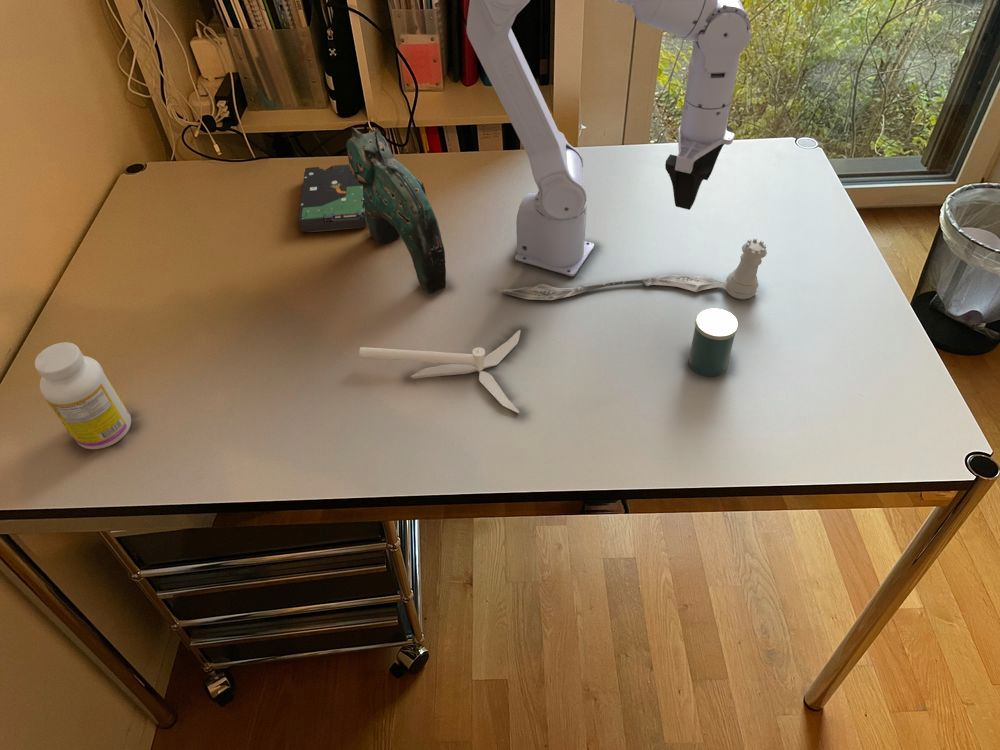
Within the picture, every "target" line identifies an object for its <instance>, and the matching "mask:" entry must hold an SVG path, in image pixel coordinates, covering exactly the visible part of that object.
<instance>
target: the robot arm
mask: <svg viewBox="0 0 1000 750" xmlns="http://www.w3.org/2000/svg"><path fill="white" fill-rule="evenodd" d="M530 1H531V0H469V5H468V12H467V20H466V31H465V32H466V34H467V39H468V40H469V42H470V44H471V46H472V48H473V51H474V52H475V54H476V56H477V58H478V60H479V62H480V64H481V66H482V68H483V70H484V72H485V74H486V76H487V78H488V81H489V82H490V84H491V86H492V88H493V90H494V91H495V94H496V96H497V98H498V100H499V101H500V104H501V105H502V108H503V110H504V111H505V113H506V116H507V118H508V120H509V122H510V124H511V126H512V128H513V129H514V131H515V133H516V136H517V137H518V139H519V141H520V143H521V146H522V147H523V149H524V151H525V153H526V155H527V157H528V161H529V164H530V169H531V173H532V177H533V179H534V183H535V184H536V186H537V189H538V192H536V193H535V192H528V193H526V194H525V196H524V197H523V198H522V200H521V202H520V204H519V207H518V210H517V214H516V221H515V223H516V226H515V227H516V254H515V256H514V260H515V261H518V262H521V263H523V264H528V265H531V266H534V267H538V268H541V269H544V270H547V271H552V272H555V273H557V274H562V275H565V276H568V277H575V276H576V274H577V273H578V271H580V269H581V267H582V266H583V264H584V263H585V262H586V260H587V259H588V257H589V256H590V255H591V252H593V250H594V249H595V243H594V242H591V241H587V240H586V230H587V229H586V227H587V226H586V225H587V207H588V200H587V197H588V196H587V191H586V189H585V182H584V171H583V170H584V169H583V167H584V161H583V160H584V159H583V157H582V154H581V153H580V151H578V149H577V148H575V147H574V146H572V145H571V144H570V143H569V141H568V140H567V138H566V136H565V134H564V133H563V132H561V131H560V130H559V129H558V126H557V125H556V123H555V120H554V118H553V116H552V113H551V112H550V109H549V107H548V105H547V102H546V101H545V99H544V96H543V94H542V92H541V90H540V88H539V85H538V84H537V81H536V79H535V77H534V75H533V73H532V71H531V68H530V66H529V63H528V61H527V59H526V58H525V55H524V53H523V50H522V48H521V47H520V43H519V42H518V40H517V37H516V36H515V33H514V32H513V29H512V26H513V24H514V22H515V20H516V17H517V15H518V14H519V13H520V12H521V11H522V10H523V9H524V8H525V7H526V6H527V5H528V4H529V3H530ZM613 1H614V2H617V3H621V4H623V5H627V6H630V7H631V8H632V10H633V14H634V16H635V19H636V21H637V22H639V23H641V24H644V25H647V26H648V27H651V28H654V29H657V30H659V31H662V32H664V33H667V34H670V35H673V36H675V37H678V38H681V39H683V40H686V41H693V44H692V51H691V56H690V59H689V64H688V72H687V79H686V85H685V91H684V98H683V103H682V112H681V119H680V120H681V121H680V124H679V126H678V129H677V147H678V154H677V155H676V154H675V155H674V154H672V153H671V154H669V155H668V156H667V158H666V160H665V164H664V165H665V170H666V172H667V174H668V177H669V179H670V181H671V185H672V191H673V200H674V206H675V207H676V208H681V209H684V210H687V211H689V210H692V209H691V208H692V207H693V205H694V202H695V201H696V198H697V196H698V193H699V189H700V187H701V185H702V183H703V181H708V180H709V178H710V176H711V175H712V173H713V171H714V167H715V165H716V163H717V160H718V157H719V155H720V154H721V151H722V149H723V148H724V145H727V146H728V145H729V146H730V145H732V143H733V142H734V140H735V136H736V134H735V133H734V129H733V127H731V126H729V125H728V121H729V118H730V117H729V115H730V110H731V107H732V101H733V95H734V91H735V85H736V79H737V75H738V69H739V61H740V55H741V53H742V52H743V51H744V50H745V49H746V48H747V46H748V44H749V43H750V41H751V39H752V36H753V33H752V32H751V21H750V18H749V16H748V14H747V11H746V10H745V8H744V6H743V3H742V2H741V0H613Z"/></svg>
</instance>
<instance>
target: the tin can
mask: <svg viewBox="0 0 1000 750" xmlns="http://www.w3.org/2000/svg"><path fill="white" fill-rule="evenodd" d="M738 328H739V321H738V319H737V317H736V316H735V315H734V314H732V313H731V312H730V311H728V310H725V309H722V308H715V307H714V308H713V307H712V308H706V309H703V310H702V311H700V312H698V314H697V315H696V317H695V322H694V330H693V336H692V339H691V346H690V351H689V355H688V365H689V367H690V368H691V369H692V370H693V371H694V372H695V373H697V374H699V375H700V376H705V377H717V376H719V375H721V374H723V373H724V372H725V371H726V370H727V368H728V364H729V361H730V357H731V353H732V350H733V346H734V345H733V344H734V341H735V337H736V333H738V332H737V331H738Z"/></svg>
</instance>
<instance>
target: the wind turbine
mask: <svg viewBox="0 0 1000 750" xmlns="http://www.w3.org/2000/svg"><path fill="white" fill-rule="evenodd" d="M521 331H522V330H517V331H516V332H515V333H514V334H513V335H512V336H511V337H510V338H509V339H508V340H506V341H505V342H504V343H503V344H501V345H499V346H498V347H497V348H496V349H494V350H493V351H491V352H490V353H489V354H487V355H486V350H485V349H484V348H483V347H478V346H477V347H475V348H473V349H472V351H471V352H472V353H461V352H460V353H459V352H445V351H444V352H443V351H429V350H413V349H396V348H381V347H365V346H360V347H359V351H358V354H359V355H358V356H359V358H360V359H371V360H372V359H373V360H386V361H401V362H403V361H405V362H415V363H416V362H417V363H418V362H419V363H431V364H432V363H434V364H435V363H436V364H440V365H436V366H429V367H424V368H423V369H421V370H419V371H417V372H416V373H414V374H412V375H410V376H409V377H410V378H411V379H414V380H415V379H422V378H431V377H441V376H453V375H454V376H455V375H466V374H471V373H474V372H478V375H479V376H478V381H479V383H481V384H482V385H483V387H484V388H485V389H486V390H487V391H488V392H489V393H490V394H491V395H492V396H493V397H494V398H495V399H496V400H497V401H498V403H499V404H501V405H502V407H505V408H507V409H509V410H510V411H513V412H515V413H517V414H520V409H518V408H517V407H516V406H515V405H514V403H512V401H511V400H510V399H509V398H508V397H507V395H506V393H504V391H503V390H502V388H501V387H500V385H499V384H498V383H497V381H496V380H495V378H494V377H493V376H492V374H491V373H489V372H487V371H483V370H484V369H488V368H491V367H494V366H497V365H499V364H500V362H501V361H502V360H503V359H504V358H505V357H506V356H508V354H509V353H510V352H511V351H512V350H513V349H514V348H515V347H516V346H517V345H518V343H519V340H520V336H521ZM441 364H442V365H441Z"/></svg>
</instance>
